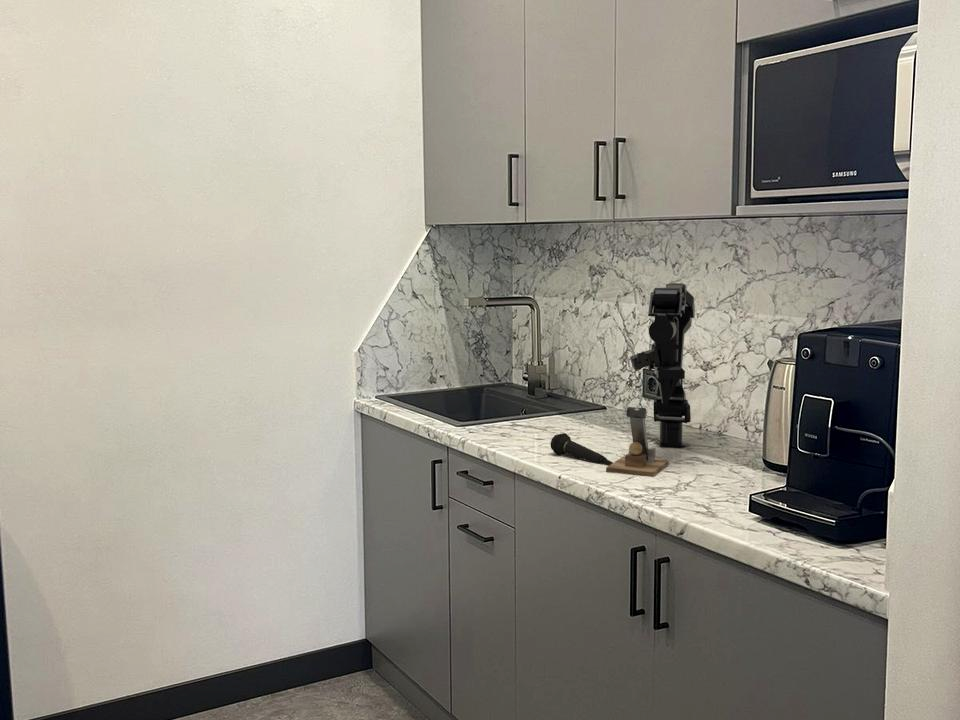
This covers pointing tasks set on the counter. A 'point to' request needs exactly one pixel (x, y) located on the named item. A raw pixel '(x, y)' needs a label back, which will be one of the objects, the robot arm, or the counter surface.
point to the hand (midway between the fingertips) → (664, 403)
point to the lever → (639, 427)
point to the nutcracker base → (637, 471)
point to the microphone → (576, 450)
